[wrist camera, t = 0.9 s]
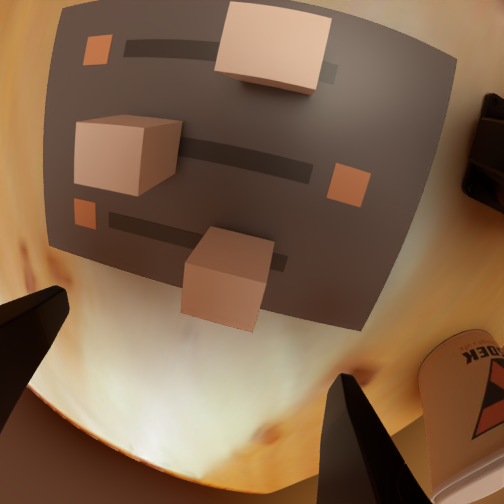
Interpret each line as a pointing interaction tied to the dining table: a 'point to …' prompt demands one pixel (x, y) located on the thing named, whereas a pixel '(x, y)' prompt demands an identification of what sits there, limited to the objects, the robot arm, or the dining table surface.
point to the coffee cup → (464, 417)
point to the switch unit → (248, 150)
